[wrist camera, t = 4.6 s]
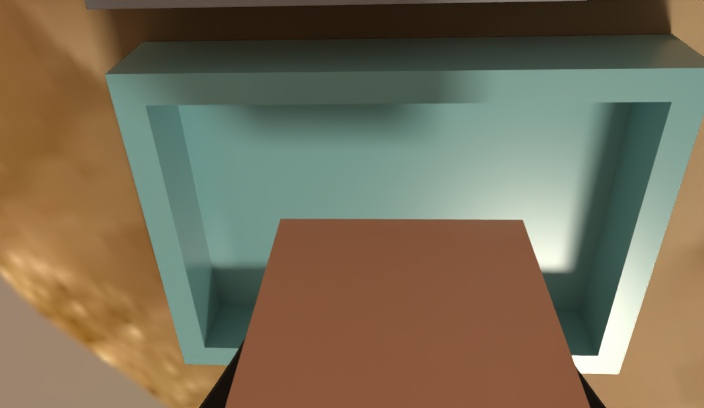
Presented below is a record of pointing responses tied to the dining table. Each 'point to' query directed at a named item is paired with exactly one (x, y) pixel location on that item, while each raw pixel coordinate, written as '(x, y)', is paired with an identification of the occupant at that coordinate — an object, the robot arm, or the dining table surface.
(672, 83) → the teal bin
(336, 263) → the terracotta block
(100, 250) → the dining table surface
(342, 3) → the grey bin
